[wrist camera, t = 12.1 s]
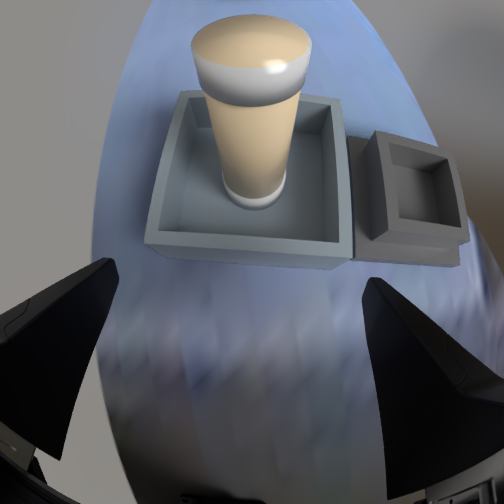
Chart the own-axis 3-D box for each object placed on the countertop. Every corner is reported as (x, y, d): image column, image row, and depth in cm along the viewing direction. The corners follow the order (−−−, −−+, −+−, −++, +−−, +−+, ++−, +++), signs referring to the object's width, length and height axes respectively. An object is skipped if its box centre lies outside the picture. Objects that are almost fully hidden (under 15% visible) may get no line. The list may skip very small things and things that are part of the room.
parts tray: (331, 270, 17) (352, 257, 13) (167, 258, 17) (143, 243, 13) (327, 133, 19) (340, 99, 15) (191, 125, 19) (180, 91, 15)
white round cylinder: (292, 200, 17) (333, 62, 6) (234, 218, 17) (203, 83, 6) (272, 152, 18) (284, 10, 7) (218, 167, 17) (183, 27, 7)
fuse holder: (452, 267, 16) (481, 258, 13) (350, 260, 17) (371, 248, 13) (437, 163, 18) (458, 143, 15) (344, 143, 19) (357, 114, 15)
